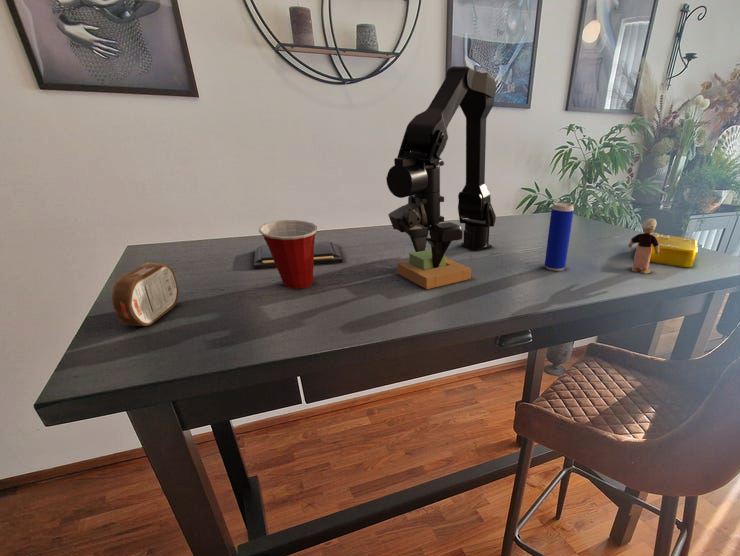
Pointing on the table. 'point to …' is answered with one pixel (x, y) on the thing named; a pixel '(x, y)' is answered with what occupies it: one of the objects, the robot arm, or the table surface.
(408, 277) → the wooden block
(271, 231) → the plastic cup
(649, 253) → the grandmother figurine
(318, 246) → the wallet
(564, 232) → the beverage can
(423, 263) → the green pad
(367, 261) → the table surface
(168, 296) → the tin
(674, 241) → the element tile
